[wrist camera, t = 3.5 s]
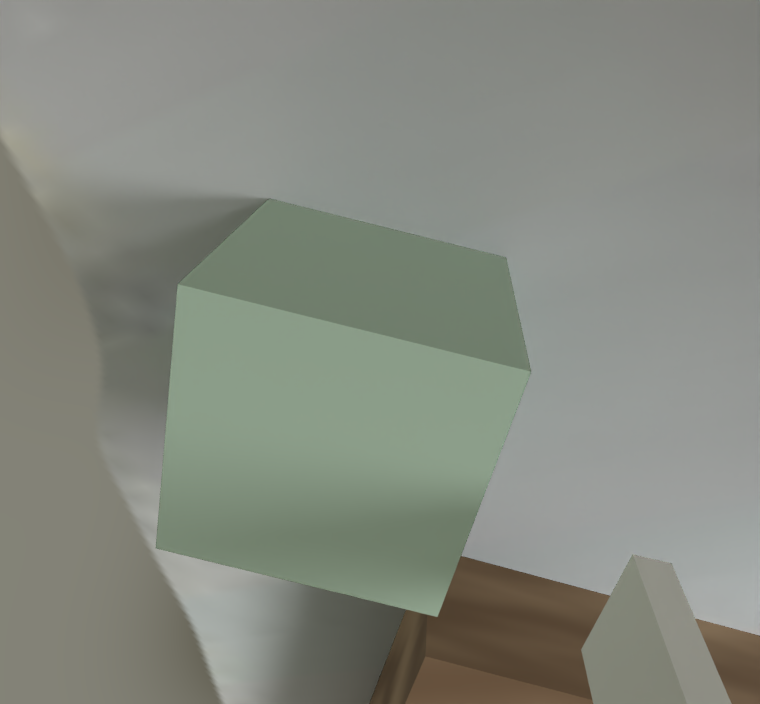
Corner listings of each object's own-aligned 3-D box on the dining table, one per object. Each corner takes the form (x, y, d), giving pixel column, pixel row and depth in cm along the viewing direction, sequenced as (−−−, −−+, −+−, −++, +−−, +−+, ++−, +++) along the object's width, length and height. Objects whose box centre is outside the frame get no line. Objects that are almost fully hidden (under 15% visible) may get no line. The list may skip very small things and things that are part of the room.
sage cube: (269, 197, 19) (177, 284, 12) (505, 256, 19) (531, 371, 13) (240, 399, 22) (156, 548, 16) (442, 449, 22) (437, 617, 16)
